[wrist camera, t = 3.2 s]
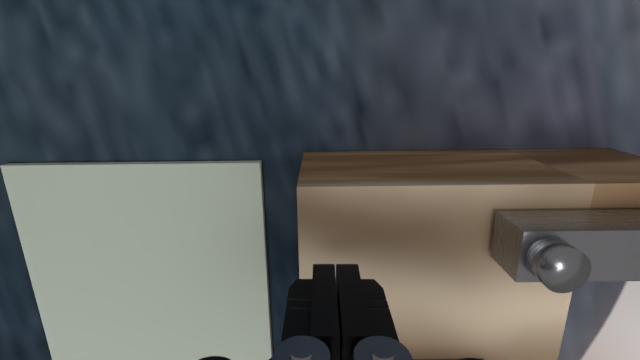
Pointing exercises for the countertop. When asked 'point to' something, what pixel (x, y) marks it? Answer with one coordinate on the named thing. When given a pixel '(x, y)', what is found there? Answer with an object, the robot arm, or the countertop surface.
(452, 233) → the lid
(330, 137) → the countertop surface
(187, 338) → the mat
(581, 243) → the sliding bolt
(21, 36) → the countertop surface
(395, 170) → the wooden box
